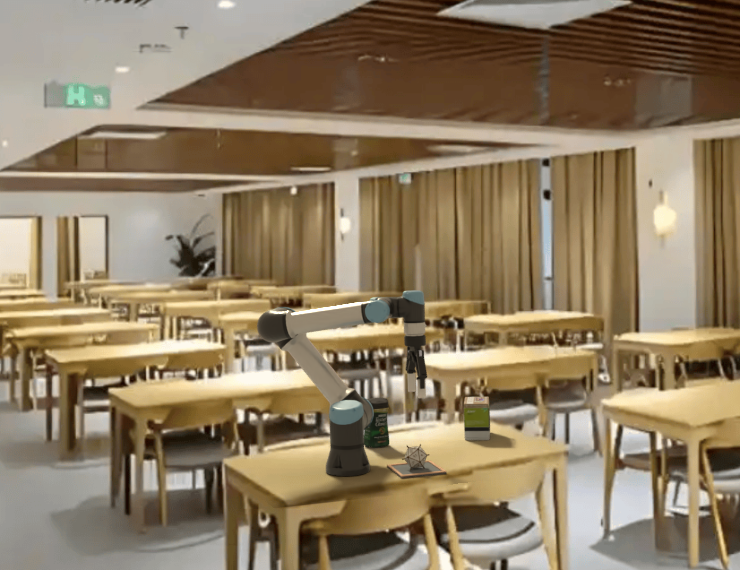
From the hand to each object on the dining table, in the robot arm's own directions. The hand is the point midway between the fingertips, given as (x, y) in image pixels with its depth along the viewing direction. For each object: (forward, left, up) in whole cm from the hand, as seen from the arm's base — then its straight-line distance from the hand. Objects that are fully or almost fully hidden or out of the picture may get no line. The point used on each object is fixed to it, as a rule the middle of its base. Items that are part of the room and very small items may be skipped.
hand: (416, 394), depth 321 cm
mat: (-4, -9, -24) cm, 26 cm away
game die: (-4, -9, -24) cm, 26 cm away
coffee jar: (-6, +31, -25) cm, 40 cm away
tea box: (+36, +32, -25) cm, 54 cm away
